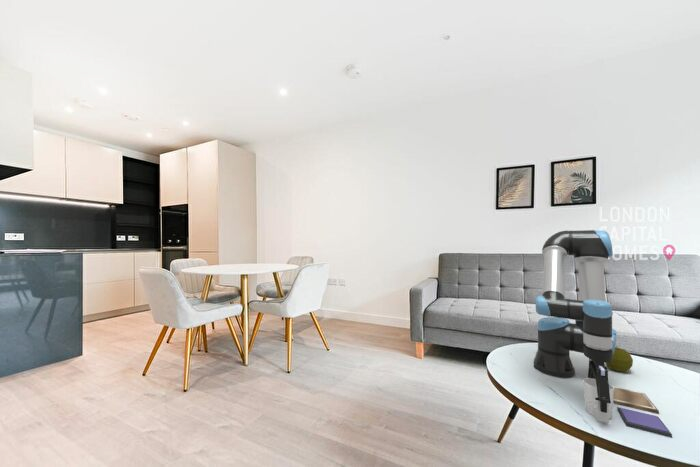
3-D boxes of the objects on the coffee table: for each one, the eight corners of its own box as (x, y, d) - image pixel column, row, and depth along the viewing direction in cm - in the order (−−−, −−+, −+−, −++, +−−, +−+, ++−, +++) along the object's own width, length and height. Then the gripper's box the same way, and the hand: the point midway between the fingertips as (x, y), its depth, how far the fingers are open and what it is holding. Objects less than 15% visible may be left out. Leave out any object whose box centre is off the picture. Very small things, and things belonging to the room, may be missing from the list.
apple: (613, 374, 124) (612, 349, 124) (597, 364, 134) (597, 341, 134) (639, 376, 122) (638, 350, 123) (621, 366, 132) (621, 342, 132)
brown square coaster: (608, 402, 102) (608, 398, 102) (599, 386, 113) (599, 383, 113) (658, 413, 96) (658, 410, 96) (644, 395, 107) (644, 392, 107)
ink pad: (626, 426, 89) (626, 421, 89) (617, 409, 98) (617, 406, 98) (672, 437, 84) (672, 433, 84) (658, 419, 92) (658, 415, 93)
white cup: (577, 407, 99) (577, 378, 100) (598, 406, 100) (597, 377, 100) (599, 421, 91) (598, 390, 92) (621, 420, 92) (620, 389, 92)
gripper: (623, 361, 84) (624, 435, 84) (603, 338, 104) (604, 397, 104) (590, 356, 88) (591, 426, 87) (577, 334, 108) (578, 392, 108)
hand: (598, 411), depth 96 cm, fingers open, 11 cm apart
